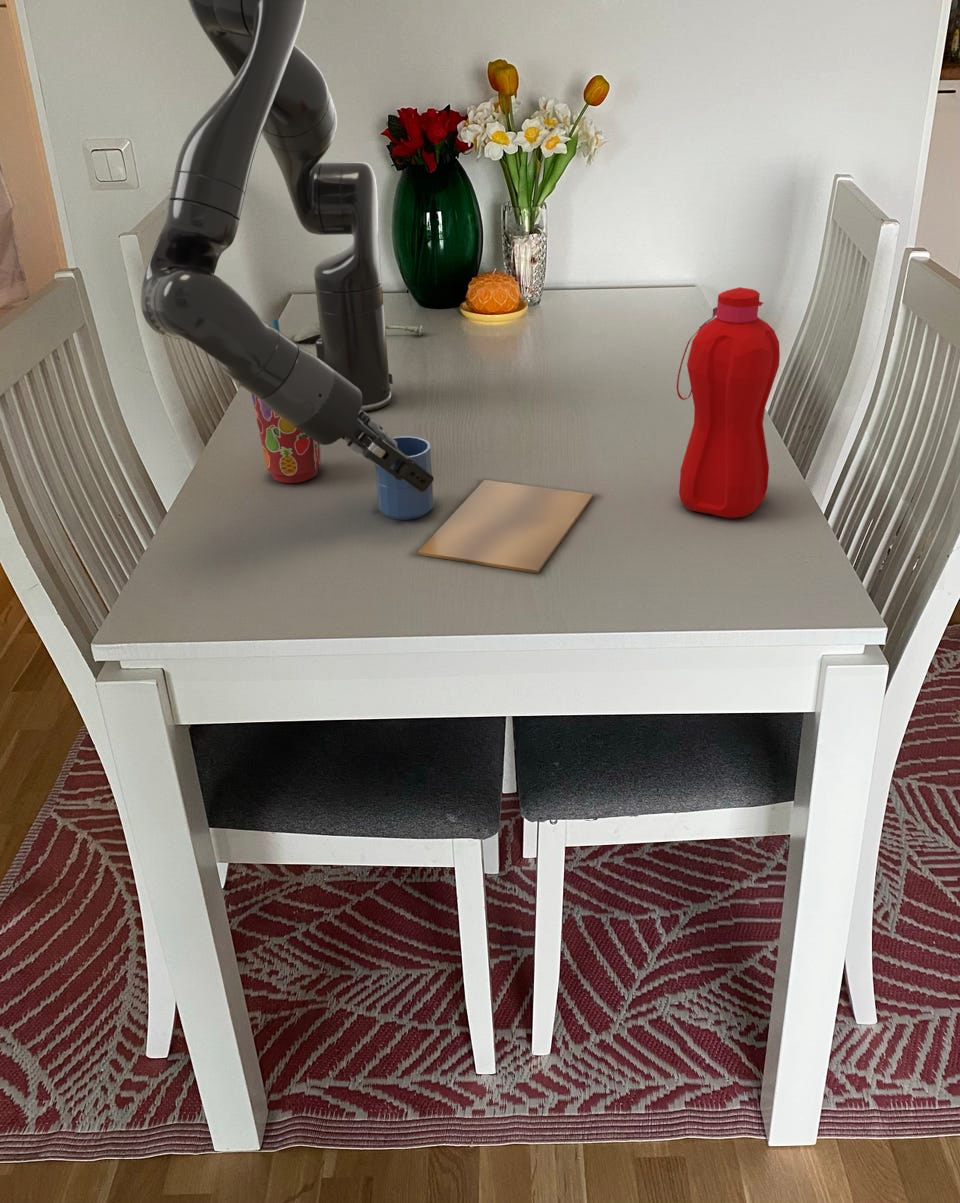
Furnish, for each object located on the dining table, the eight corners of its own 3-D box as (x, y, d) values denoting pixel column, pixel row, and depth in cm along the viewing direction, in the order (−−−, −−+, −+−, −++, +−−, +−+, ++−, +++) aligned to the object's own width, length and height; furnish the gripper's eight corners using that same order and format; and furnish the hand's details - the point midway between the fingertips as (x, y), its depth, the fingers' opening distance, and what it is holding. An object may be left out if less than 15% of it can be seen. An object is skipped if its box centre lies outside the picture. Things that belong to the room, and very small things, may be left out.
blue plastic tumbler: (369, 517, 135) (364, 454, 131) (393, 495, 140) (388, 433, 136) (420, 525, 133) (416, 461, 129) (442, 502, 138) (439, 439, 134)
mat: (418, 554, 126) (417, 551, 126) (484, 482, 142) (484, 479, 142) (538, 574, 122) (538, 570, 122) (593, 497, 138) (593, 494, 137)
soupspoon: (297, 336, 199) (291, 350, 194) (294, 317, 197) (288, 331, 192) (424, 328, 198) (421, 342, 192) (422, 309, 196) (419, 322, 190)
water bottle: (685, 478, 141) (698, 274, 129) (772, 495, 136) (795, 284, 124) (656, 508, 134) (666, 294, 122) (746, 527, 129) (767, 306, 117)
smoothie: (338, 465, 149) (322, 312, 138) (309, 491, 142) (290, 332, 132) (281, 458, 151) (261, 308, 141) (249, 484, 144) (226, 327, 134)
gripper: (350, 387, 119) (460, 470, 129) (311, 348, 130) (415, 427, 140) (306, 444, 120) (419, 522, 129) (272, 401, 131) (377, 476, 141)
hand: (416, 473), depth 135 cm, fingers closed on blue plastic tumbler, 6 cm apart
